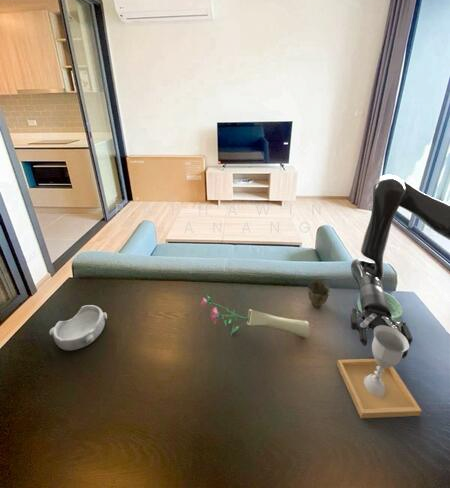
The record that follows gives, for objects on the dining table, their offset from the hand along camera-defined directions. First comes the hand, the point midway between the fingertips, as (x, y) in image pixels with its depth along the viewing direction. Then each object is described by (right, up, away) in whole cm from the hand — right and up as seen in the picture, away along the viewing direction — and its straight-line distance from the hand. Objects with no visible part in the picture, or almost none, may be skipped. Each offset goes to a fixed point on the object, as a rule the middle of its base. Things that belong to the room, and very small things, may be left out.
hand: (384, 349), depth 63 cm
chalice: (-1, -12, +2) cm, 12 cm away
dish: (-88, -6, +17) cm, 89 cm away
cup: (-7, -2, +28) cm, 29 cm away
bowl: (+14, -3, +25) cm, 29 cm away
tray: (-1, -12, +2) cm, 12 cm away
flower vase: (-32, -6, +18) cm, 37 cm away
